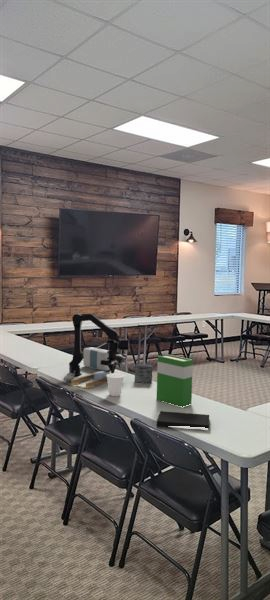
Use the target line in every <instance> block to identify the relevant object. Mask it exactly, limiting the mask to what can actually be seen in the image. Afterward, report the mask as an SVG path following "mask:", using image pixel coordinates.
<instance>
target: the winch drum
mask: <svg viewBox="0 0 270 600" xmlns="http://www.w3.org/2000/svg"><path fill="white" fill-rule="evenodd" d="M74 375H76V374H75V371H74V374H73V373H69V372H68V373H66V375H65V376H66V377H65V378H66V379H65V380H66V381H65V382H66V383H67V384H71V380H72V379H75V376H74Z"/></svg>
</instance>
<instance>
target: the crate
mask: <svg viewBox="0 0 270 600" xmlns="http://www.w3.org/2000/svg"><path fill="white" fill-rule="evenodd" d="M107 374H111V372H109V371H102V370H99V371H96V372H94V379H93V381H95V380H98V379H101V378H104V377H107V376H106V375H107Z"/></svg>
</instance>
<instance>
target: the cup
mask: <svg viewBox="0 0 270 600" xmlns="http://www.w3.org/2000/svg"><path fill="white" fill-rule="evenodd" d="M106 376H107V381H108V382H107V387H108V393H109V396H110V395H111V396H110V397H114V396H116V397H120V396H121V394H122V389H123V385H124V384H123V383H124V377H125V374H122V373H118V372H117V373H115V372H114V373H110V374H107V375H106ZM119 395H120V396H119Z"/></svg>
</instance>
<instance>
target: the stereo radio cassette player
mask: <svg viewBox="0 0 270 600" xmlns="http://www.w3.org/2000/svg"><path fill="white" fill-rule="evenodd" d="M106 344H107V343H106V342H104V343H103V344H101V345H99V346H97V347H91V346H90V347H84V348H83V351H84V354H83V355H84V358H83V360H82V361H83V362H82V363H83V366H84V367H87V368H90V369H94V370H98V371H104V372H108V371H110V369H109V367H108V366H107V365H101V364H100V362H101V360H104V359H107V357H108V356H109V353H107V351H109V349H108V350H107V349H102V348H100V347H102V346H105V345H106ZM107 360H109V359H107Z"/></svg>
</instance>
